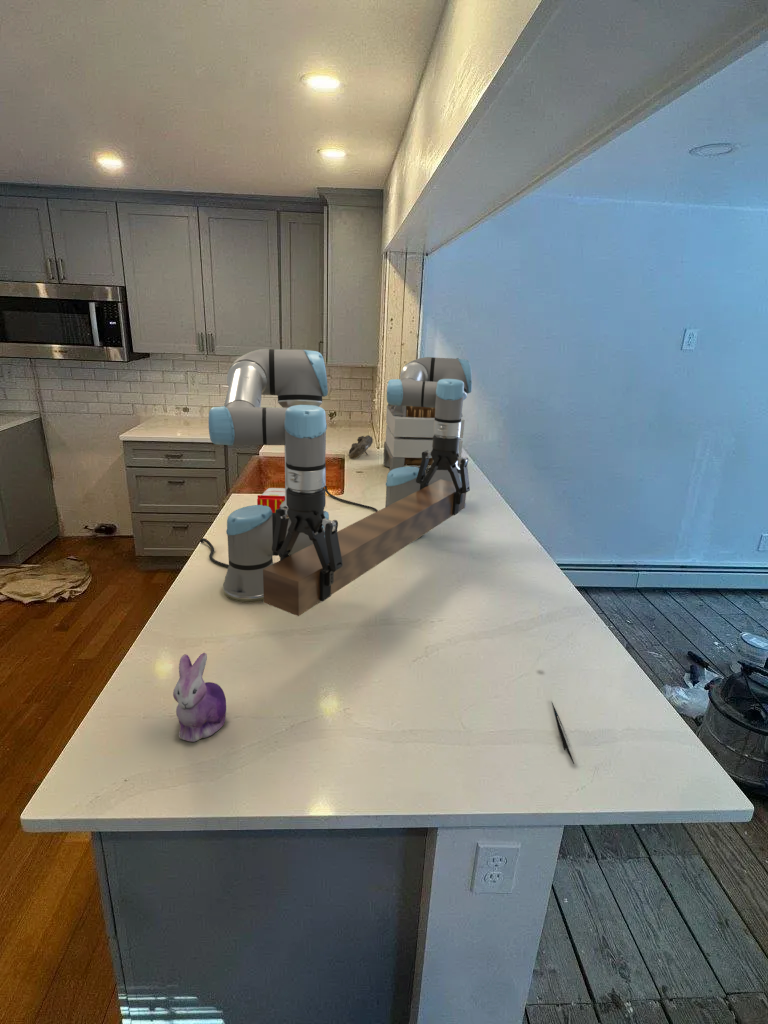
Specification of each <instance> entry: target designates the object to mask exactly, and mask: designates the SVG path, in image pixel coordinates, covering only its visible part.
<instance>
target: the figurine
mask: <svg viewBox="0 0 768 1024" xmlns="http://www.w3.org/2000/svg"><path fill="white" fill-rule="evenodd" d="M207 660H208V655H207V653H206V652H201V653H200V654H199V656H198V657H197V658H196V659H195V661H194V662H193V663H192V660H191V658H190V656H189V655H188V654H187V653H185V654H183V655H182V656H181V657H180V660H179V664H178V674H179V675H178V677H179V678H178V680H177V682H176V684H175V686H174V688H173V692H172V693H173V694H172V696H173V699H174V701H176V702H177V706H176V711H175V712H176V718H177V720H178V722H179V726H180V728H179V731H178V732H179V733H178V736H179V739H180V740H183V741H187V742H191V743H192V742H198V741H199V740H201V739H204V738H206V739H207V738H209V737H211V736H212V735H214V734H215V733H217V732H218V731H219V730H220V729H221V728H223V726H225V722H226V713H227V698H226V695H225V692H224V690H223V688H222V687H221V686H220V685H219V684H217V683H215V682H213V681H212V682H211V681H207V682H205V680H204V678H203V676H204V672H205V668H206V664H207Z"/></svg>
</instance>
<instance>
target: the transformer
mask: <svg viewBox="0 0 768 1024" xmlns="http://www.w3.org/2000/svg"><path fill="white" fill-rule="evenodd" d="M385 414H386V415H385V423H386V428H385V438H384V442H383V466H384V467H388V468H389V472H390V471H391V470H393V469H396V468H399V467H405V466H406V467H417V466H418V467H420V465H421V461H422V452H424V451H427V450H428V451H429V452H431V451H432V449H433V447H432V444H433V436H434V435H435V434H434V433H433V431H434V419H435V408H430V407H417V406H397V405H390V404H388V403H387V405H386V413H385ZM464 429H465V419H464V418H463V414H462V415H461V429H460V440H459V452H458V454H459V457H462V453H463V442H464V441H463V440H462V439H463V438H464V431H465V430H464ZM432 464H433V459H432V457H430V458H429V462H428V465H427V467H430V466H431V465H432ZM458 467H459V468H460V465H459V462H458Z"/></svg>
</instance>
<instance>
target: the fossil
mask: <svg viewBox="0 0 768 1024" xmlns="http://www.w3.org/2000/svg"><path fill="white" fill-rule="evenodd" d="M373 443H374V442H373V437H372V436H371V435H366V436H365V435H361V436H358V437H357V442H353V443H352V444H351V447H350V448H349V450H348V457H349V459H353V460H354V459H356V458H358V457H360V456H361V455H363V454H366V456H368V455H369V454H368V452H367V450H368V449H369V448H371V446H372V444H373Z"/></svg>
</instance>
